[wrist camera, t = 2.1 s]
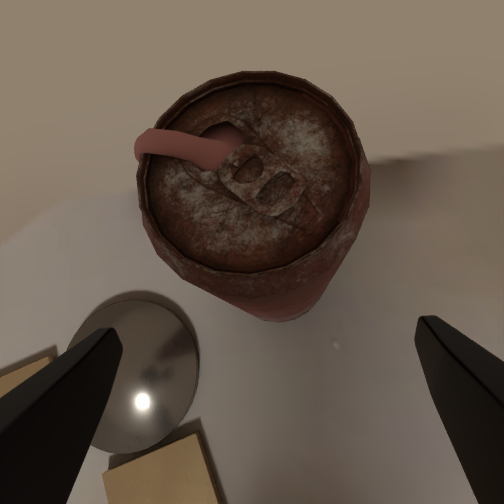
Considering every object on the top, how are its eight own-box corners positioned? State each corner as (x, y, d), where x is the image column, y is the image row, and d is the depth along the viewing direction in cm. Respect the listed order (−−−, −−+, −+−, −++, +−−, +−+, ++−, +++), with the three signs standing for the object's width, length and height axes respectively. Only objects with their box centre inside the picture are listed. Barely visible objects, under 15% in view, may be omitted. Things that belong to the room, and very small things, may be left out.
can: (235, 226, 22) (141, 55, 9) (328, 235, 21) (385, 55, 8) (221, 314, 21) (81, 273, 7) (320, 328, 20) (374, 309, 6)
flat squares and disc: (260, 534, 17) (259, 542, 17) (6, 642, 17) (-5, 654, 17) (173, 280, 22) (169, 278, 21) (-29, 369, 22) (-39, 370, 21)
